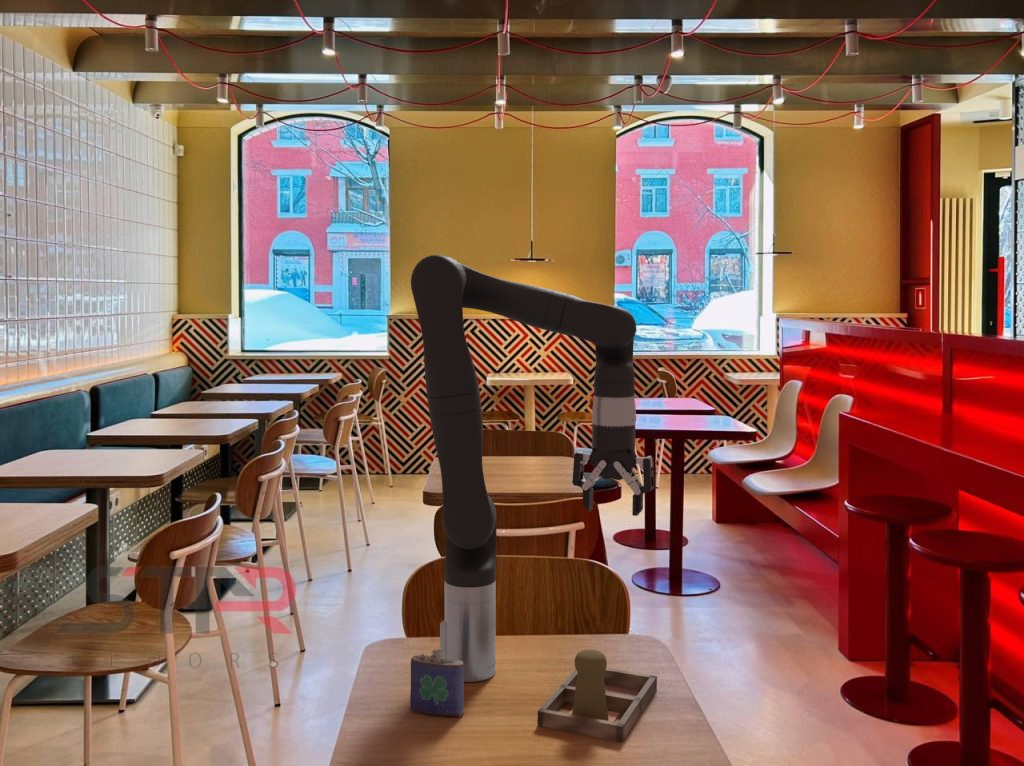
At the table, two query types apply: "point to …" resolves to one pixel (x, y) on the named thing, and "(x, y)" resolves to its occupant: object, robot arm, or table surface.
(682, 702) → the table surface
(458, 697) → the flask
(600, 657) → the cork
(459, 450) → the robot arm
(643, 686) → the caddy
